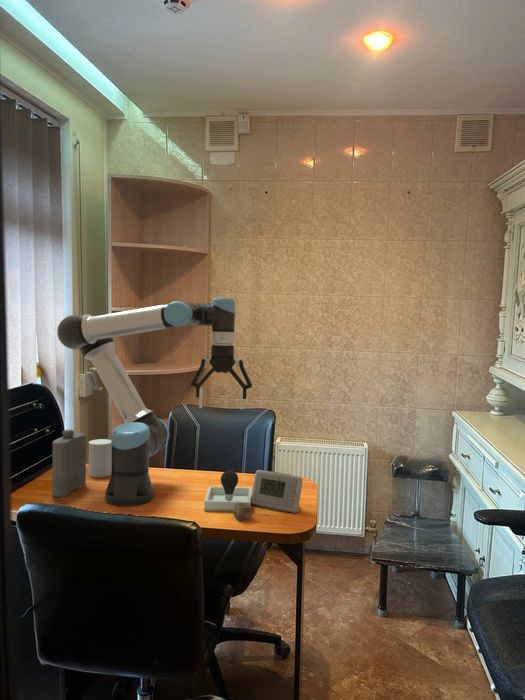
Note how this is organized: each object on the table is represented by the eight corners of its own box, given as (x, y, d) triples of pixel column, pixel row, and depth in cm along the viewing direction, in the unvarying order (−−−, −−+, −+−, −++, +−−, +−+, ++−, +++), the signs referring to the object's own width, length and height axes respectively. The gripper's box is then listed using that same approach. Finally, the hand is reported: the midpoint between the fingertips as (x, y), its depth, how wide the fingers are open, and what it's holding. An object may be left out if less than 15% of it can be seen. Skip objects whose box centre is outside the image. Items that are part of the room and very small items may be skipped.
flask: (73, 482, 181) (73, 425, 180) (88, 483, 180) (89, 426, 179) (46, 496, 167) (47, 434, 165) (62, 498, 165) (63, 436, 164)
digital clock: (247, 505, 165) (248, 472, 164) (264, 497, 172) (265, 465, 171) (290, 517, 155) (291, 482, 155) (306, 509, 163) (307, 476, 162)
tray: (204, 510, 158) (204, 501, 158) (208, 495, 172) (209, 486, 172) (250, 512, 158) (250, 502, 158) (251, 496, 172) (251, 487, 172)
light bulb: (238, 498, 168) (239, 468, 167) (236, 505, 162) (237, 473, 162) (221, 497, 169) (222, 467, 168) (218, 503, 163) (219, 472, 162)
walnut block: (238, 522, 151) (238, 508, 151) (234, 517, 155) (234, 503, 154) (251, 520, 152) (251, 507, 152) (246, 515, 156) (247, 502, 156)
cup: (106, 469, 197) (106, 438, 196) (115, 474, 191) (115, 442, 190) (84, 473, 192) (85, 441, 191) (93, 478, 186) (94, 445, 185)
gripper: (183, 343, 169) (181, 408, 170) (260, 346, 169) (258, 411, 170) (186, 342, 176) (185, 404, 177) (260, 345, 176) (258, 407, 177)
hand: (221, 408), depth 174 cm, fingers open, 13 cm apart
